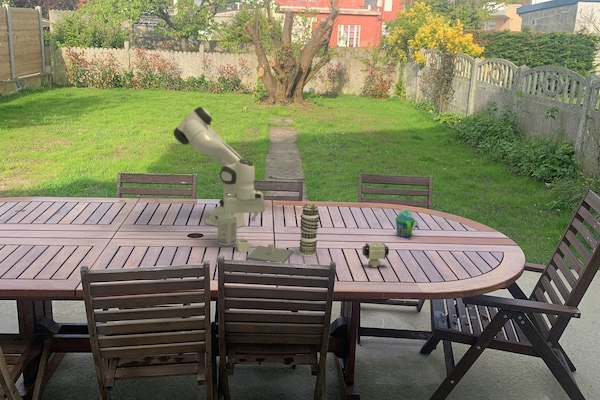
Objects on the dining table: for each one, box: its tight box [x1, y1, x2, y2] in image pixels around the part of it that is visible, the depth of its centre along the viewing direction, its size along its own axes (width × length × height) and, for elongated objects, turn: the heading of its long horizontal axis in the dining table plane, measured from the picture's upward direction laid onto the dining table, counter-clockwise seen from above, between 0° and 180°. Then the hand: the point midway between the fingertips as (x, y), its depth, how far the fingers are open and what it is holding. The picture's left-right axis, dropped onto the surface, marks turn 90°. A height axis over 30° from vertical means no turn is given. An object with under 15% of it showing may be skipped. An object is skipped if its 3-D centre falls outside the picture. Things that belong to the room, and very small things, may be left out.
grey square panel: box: [246, 242, 294, 264], centre depth 292 cm, size 18×18×6 cm
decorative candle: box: [298, 203, 320, 257], centre depth 297 cm, size 9×9×25 cm
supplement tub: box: [217, 213, 238, 247], centre depth 306 cm, size 10×10×15 cm
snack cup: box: [395, 215, 416, 238], centre depth 336 cm, size 16×10×10 cm
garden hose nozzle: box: [398, 208, 419, 231], centre depth 359 cm, size 7×18×20 cm
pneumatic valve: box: [361, 242, 390, 268], centre depth 286 cm, size 6×12×12 cm, turn 99°
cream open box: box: [236, 238, 251, 253], centre depth 299 cm, size 6×6×5 cm
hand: (243, 221), depth 296 cm, fingers open, 8 cm apart
